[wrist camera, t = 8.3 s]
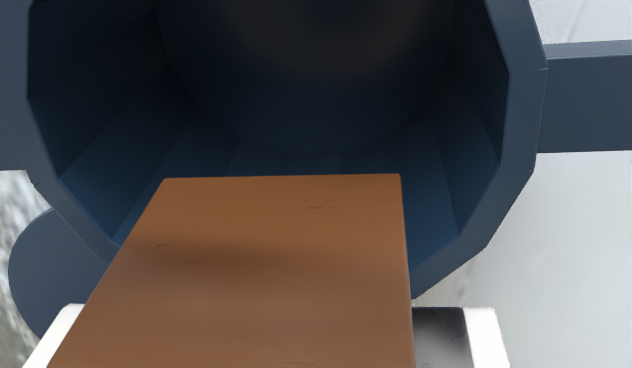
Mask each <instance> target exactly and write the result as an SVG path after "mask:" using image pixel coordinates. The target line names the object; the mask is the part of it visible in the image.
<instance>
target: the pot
mask: <svg viewBox="0 0 632 368" xmlns="http://www.w3.org/2000/svg"><path fill="white" fill-rule="evenodd" d="M623 150H632V40H617V41H599V42H580V43H562V44H544V45H543V44H542V41H541V38H540V35H539V32H538V28H537V25H536V22H535V19H534V16H533V12H532V9H531V6H530V3H529V0H0V171H6V170H26V172H27V174H28V177H29V179H30V181H31V183H32V184H34V187H35V188H36V190H37V191H38V192H39V193H40V194H41V195H42V196H43V197H44V199H45V200H46V201H47V202H48V203H49V204H50V205H51V206H52V208H53V209H54V210H55V211H56V212H57V213H58V214H59V215H60V217H61V218H62V219H63V220H64V221H65V222H66V223H67V225H68V226H69V227H70V228H71V229H72V230H73V231H74V232H75V234H76V235H77V236H78V237H79V238H80V239H81V240H82V241H83V243H84V244H85V245H86V246H87V247H88V248H89V249H90V250H91V251H92V252H95V255H96V256H98V257H99V258H101V259H103V260H104V261H106V262H107V263H109V264H111V262H112V261H113V259H114V257H115V256H116V254H117V253H118V251H119V249H120V248H121V246H122V245H123V243H124V241H125V240H126V238H127V237H128V235H129V233H130V232H131V230H132V229H133V227H134V225H135V224H136V222H137V221H138V219H139V217H140V216H141V214H142V213H143V211H144V209H145V208H146V206H147V205H148V203H149V202H150V200H151V198H152V197H153V195H154V194H155V192H156V190H157V189H158V187H159V186H160V184H161V182H162V181H163V179H165V178H193V177H242V176H291V175H340V174H390V173H398V174H400V175H401V181H402V194H403V206H404V219H405V232H406V244H407V257H408V269H409V282H410V295H411V300H413V299H416V298H417V297H419V296H420V295H421V294H423V293H424V292H425V291H427V290H428V289H430V288H431V287H432V286H434V285H435V284H437V283H438V282H439V281H441V280H442V279H443V278H445V277H446V276H448V275H449V274H450V273H452V272H453V271H454V270H456V269H457V268H459V267H460V266H461V265H463V264H464V263H466V262H467V261H468V260H470V259H471V258H472V257H474V256H475V255H477V254H478V253H479V252H481V251H482V250H483V248H485V247H486V246H487V244H488V243H489V241H490V240H491V238H492V236H493V235H494V233H495V232H496V230H497V229H498V227H499V225H500V224H501V222H502V221H503V219H504V218H505V216H506V214H507V213H508V211H509V210H510V208H511V207H512V205H513V203H514V202H515V200H516V199H517V197H518V196H519V194H520V192H521V191H522V189H523V188H524V186H525V184H526V183H527V181H528V180H529V178H530V177H531V175H532V173H533V172H534V170H533V169H534V167H535V161H536V155H537V153H561V152H592V151H623Z"/></svg>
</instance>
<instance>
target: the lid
mask: <svg viewBox="0 0 632 368" xmlns="http://www.w3.org/2000/svg"><path fill="white" fill-rule="evenodd" d="M109 265H110V264H109V263H107V262H106V261H104V260H103V259H101V258H99V257H98V256H96V255H95V252H92V251H91V250H90V249H89V248H88V247H87V246H86V245H85V244H84V243H83V241H82V240H81V239H80V238H79V237H78V236H77V235H76V234H75V232H74V231H73V230H72V229H71V228H70V227H69V226H68V225H67V223H66V222H65V221H64V220H63V219H62V218H61V217H60V215H59V214H58V213H57V212H56V211H55V210H54V209H53V208H50V209H48V210H47V211H45V212H43V213H42V214H40V215H39V216H38V217H37V218H35V219H34V220H33V221H32V222H31V223H30V224H29V225H28V226H27V227H26V228H25V230H24V231H23V232H22V233H21V234H20V236H19V237H18V239H17V241H16V242H15V244H14V246H13V248H12V252H11V255H10V258H9V266H8V278H9V286H10V290H11V294H12V297H13V300H14V302H15V304H16V307H17V309H18V311H19V312H20V314H21V316H22V317H23V319H24V321H25V322H26V323H27V325H28V326H29V327H30V329H31V330H32V331H33V333H34V334H35V335H36V336H37V337H38V338H39V339H40V340H41V339H42V338H43V336H44V335H45V333H46V332H47V330H48V329H49V327H50V326H51V324H52V323H53V321H54V320H55V318H56V317H57V315H58V314H59V312H60V311H61V310H62V308H64V307H66V306H67V305H69V304H70V303H72V304H86V302H87V300H88V299H89V297H90V296H91V294H92V292H93V291H94V289H95V288H96V286H97V284H98V283H99V281H100V280H101V278H102V277H103V275H104V273H105V272H106V270H107V269H108V267H109Z"/></svg>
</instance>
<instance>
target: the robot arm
mask: <svg viewBox="0 0 632 368" xmlns="http://www.w3.org/2000/svg"><path fill="white" fill-rule="evenodd" d="M84 305H85V304H72V303H70V304H69V305H67V306H66V307H64V308H62V310H61V311H60V312H59V314H58V315H57V317H56V318H55V320H54V321H53V323H52V324H51V326H50V327H49V329H48V330H47V332H46V333H45V335H44V336H43V338H42V339H41V341H40V342H39V343H38V345H37V346H36V348H35V349H34V351H33V352H32V354H31V355H30V357H29V358H28V360H27V361H26V363H25V364H24V366H23V367H22V368H46V366H47V364H48V363H49V361H50V359H51V358H52V356H53V355H54V353H55V352H56V350H57V348H58V347H59V345H60V344H61V342H62V340H63V339H64V337H65V336H66V334H67V332H68V331H69V329H70V328H71V326H72V324H73V323H74V321H75V320H76V318H77V316H78V315H79V313H80V312H81V310H82V308H83V307H84ZM412 320H413V333H414V345H415V358H416V368H511V367H510V363H509V360H508V356H507V352H506V348H505V345H504V341H503V337H502V333H501V330H500V326H499V322H498V318H497V314H496V311H495V310H494V309H493V308H492V307H461V308H460V307H412Z"/></svg>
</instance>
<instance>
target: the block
mask: <svg viewBox="0 0 632 368" xmlns="http://www.w3.org/2000/svg"><path fill="white" fill-rule="evenodd" d="M46 368H416V358H415V345H414V333H413V320H412V307H411V295H410V282H409V269H408V257H407V244H406V232H405V219H404V206H403V194H402V181H401V175H400V174H398V173H390V174H340V175H291V176H242V177H193V178H165V179H163V181H162V182H161V184H160V186H159V187H158V189H157V190H156V192H155V194H154V195H153V197H152V198H151V200H150V202H149V203H148V205H147V206H146V208H145V209H144V211H143V213H142V214H141V216H140V217H139V219H138V221H137V222H136V224H135V225H134V227H133V229H132V230H131V232H130V233H129V235H128V237H127V238H126V240H125V241H124V243H123V245H122V246H121V248H120V249H119V251H118V253H117V254H116V256H115V257H114V259H113V261H112V262H111V264H110V265H109V267H108V269H107V270H106V272H105V273H104V275H103V277H102V278H101V280H100V281H99V283H98V284H97V286H96V288H95V289H94V291H93V292H92V294H91V296H90V297H89V299H88V300H87V302H86V304H85V305H84V307H83V308H82V310H81V312H80V313H79V315H78V316H77V318H76V320H75V321H74V323H73V324H72V326H71V328H70V329H69V331H68V332H67V334H66V336H65V337H64V339H63V340H62V342H61V344H60V345H59V347H58V348H57V350H56V352H55V353H54V355H53V356H52V358H51V359H50V361H49V363H48V364H47V366H46Z"/></svg>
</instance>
